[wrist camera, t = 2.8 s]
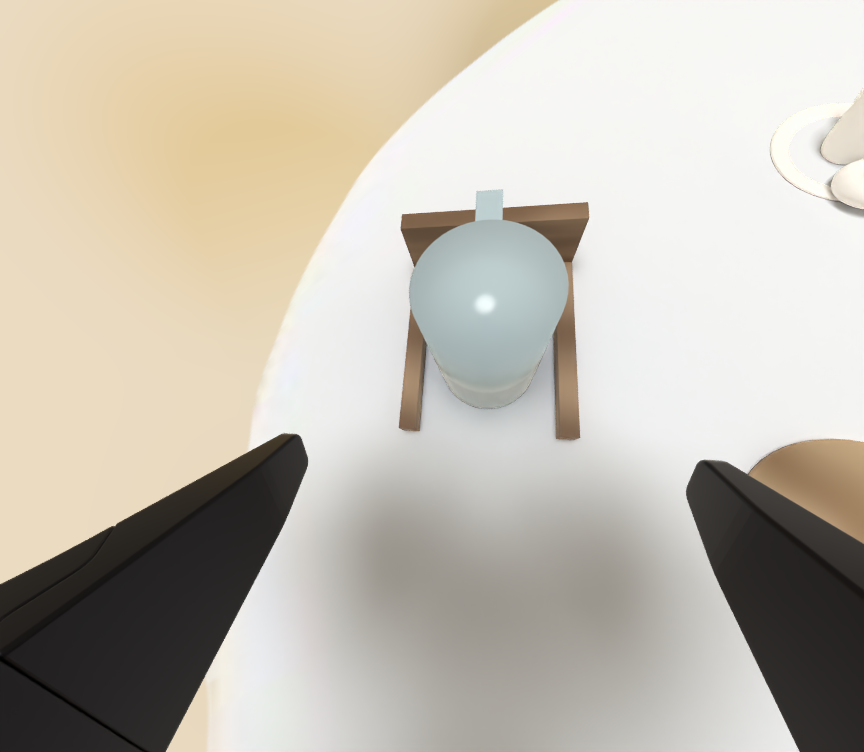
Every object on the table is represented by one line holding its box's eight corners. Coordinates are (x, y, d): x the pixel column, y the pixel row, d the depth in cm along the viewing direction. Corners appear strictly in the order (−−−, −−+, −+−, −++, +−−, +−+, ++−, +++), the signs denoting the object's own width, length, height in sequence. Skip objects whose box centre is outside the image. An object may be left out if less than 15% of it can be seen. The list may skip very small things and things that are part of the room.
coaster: (915, 733, 14) (930, 743, 13) (691, 539, 17) (697, 542, 16) (1048, 554, 15) (1067, 556, 14) (810, 400, 18) (819, 398, 17)
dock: (574, 439, 19) (602, 429, 14) (403, 430, 21) (378, 418, 16) (567, 259, 22) (587, 202, 17) (419, 264, 24) (402, 214, 19)
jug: (534, 410, 20) (571, 360, 11) (439, 406, 21) (402, 358, 12) (533, 283, 22) (563, 154, 13) (448, 285, 23) (421, 167, 14)
